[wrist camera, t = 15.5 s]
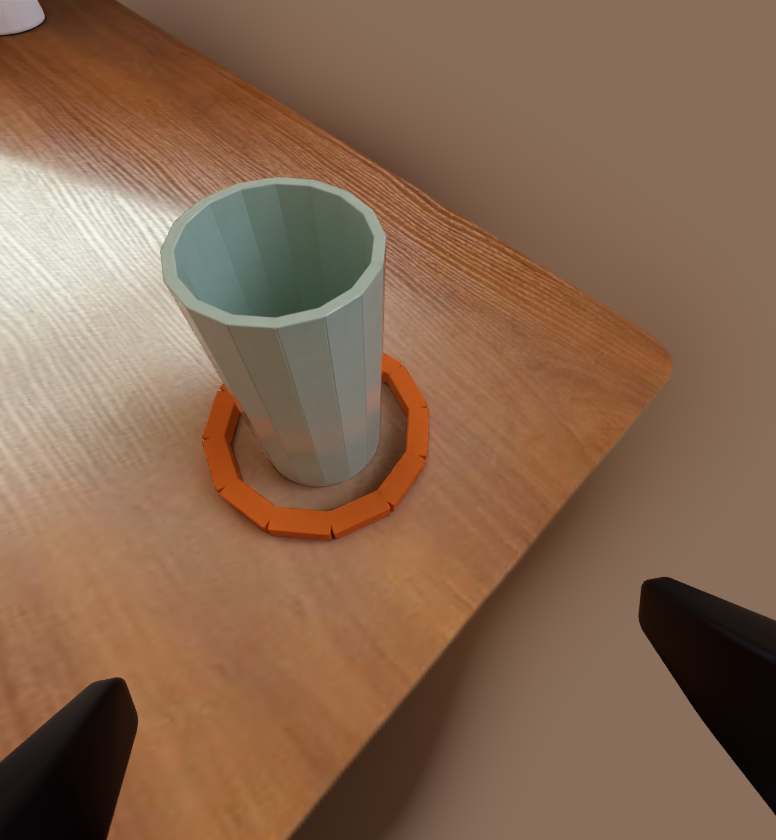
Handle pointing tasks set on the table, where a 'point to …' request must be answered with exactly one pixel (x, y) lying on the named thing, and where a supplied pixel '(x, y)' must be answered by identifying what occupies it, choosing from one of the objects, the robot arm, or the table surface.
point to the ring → (315, 521)
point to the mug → (19, 15)
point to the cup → (289, 316)
